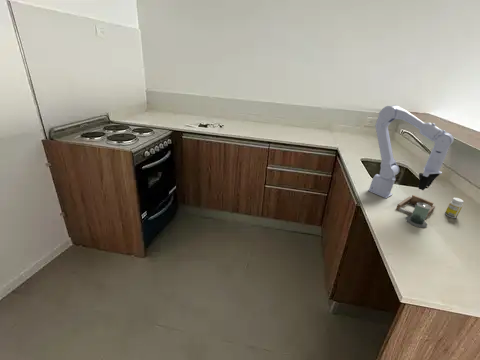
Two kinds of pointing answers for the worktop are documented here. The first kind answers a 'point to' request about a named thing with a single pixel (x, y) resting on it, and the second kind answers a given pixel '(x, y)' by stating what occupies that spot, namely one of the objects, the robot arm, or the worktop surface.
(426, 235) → the worktop surface
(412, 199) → the frame
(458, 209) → the supplement bottle
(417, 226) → the coaster
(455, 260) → the worktop surface
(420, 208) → the tin can
